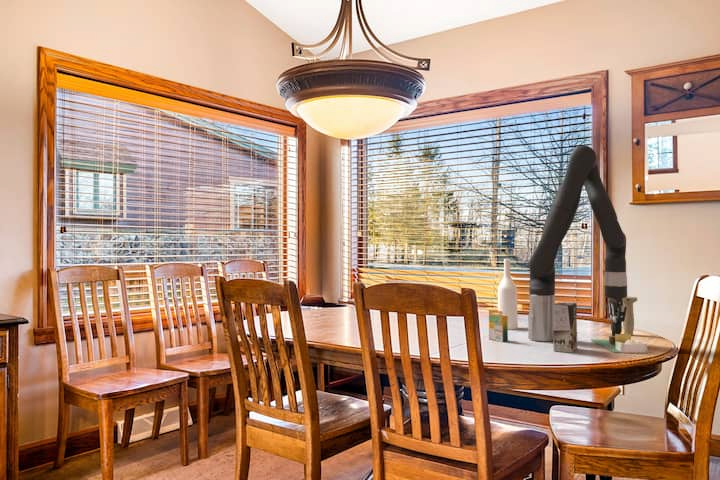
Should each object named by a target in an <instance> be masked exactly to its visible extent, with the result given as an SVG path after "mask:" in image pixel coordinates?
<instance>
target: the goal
mask: <svg viewBox="0 0 720 480" xmlns="http://www.w3.org/2000/svg"><path fill="white" fill-rule="evenodd" d="M616 349H617V350H618V351H620V352H622V353H621V354H648V343H647V342H646V343H645V342H643V341H638V343H636V344H623V343H621V342H616ZM624 352H625V353H624ZM630 352H631V353H630ZM632 352H633V353H632ZM636 352H637V353H636ZM638 352H639V353H638ZM640 352H641V353H640ZM643 352H644V353H643ZM645 352H646V353H645Z"/></svg>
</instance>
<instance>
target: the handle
mask: <svg viewBox="0 0 720 480" xmlns="http://www.w3.org/2000/svg"><path fill="white" fill-rule="evenodd" d="M622 300H623V304H624V306H626V307H627V309H626V315H625V321H623V322H622V329H623V334H631V336H633V335H634V329H635V328H634V327H635V315H634V303H637V301H638V297H637V296H627V297H626V298H623V299H622Z"/></svg>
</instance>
